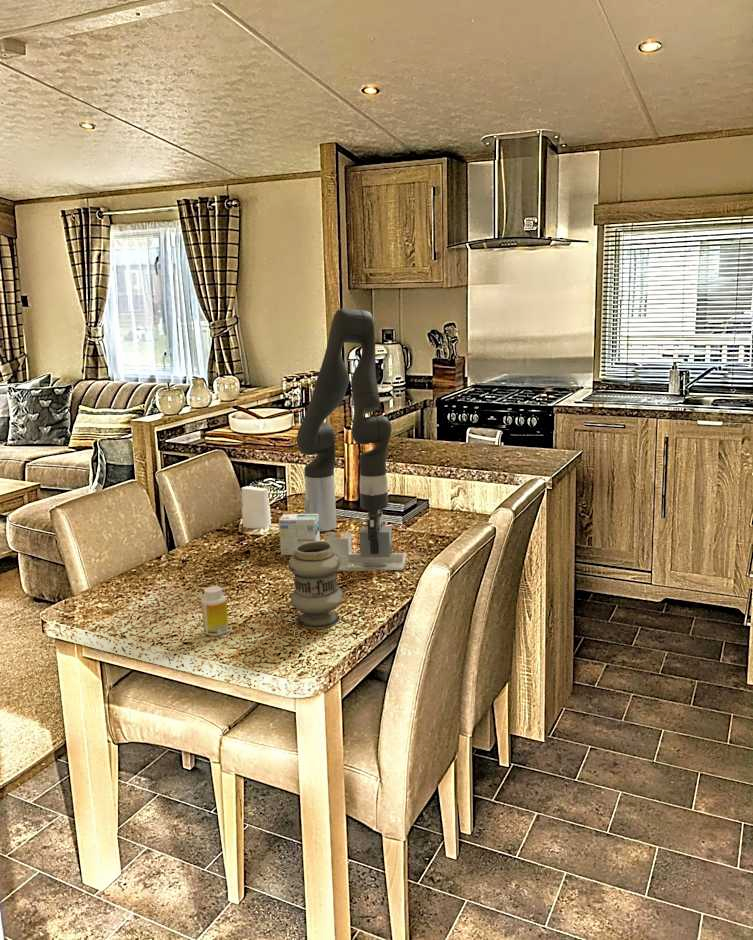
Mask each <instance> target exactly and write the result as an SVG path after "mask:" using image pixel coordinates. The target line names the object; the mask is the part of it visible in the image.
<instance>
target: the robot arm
mask: <svg viewBox="0 0 753 940" xmlns="http://www.w3.org/2000/svg"><path fill="white" fill-rule="evenodd" d="M330 324H331V325H330V329H329V334H328V339H327V343H326V348H325V352H324V357H323V359H322V363H321V366H320V369H319V371H318V374H317V378H316V381H315V384H314V387H313V390H312V391H313V392H312V395H311V398H310V402H309V404H308V408H307V410H306V412H305V414H304V416H303V419H302V421H301V423H300V426H299V428H298V431H297V435H296V445H297V449H298V451H299V453H301V454H302V455H304V456H305V455H306V456H312V455H316V456H315V458H314V459H313V460H312V461H311V462H309V463H307V464H306V465H305V466H304V468H303V471H304V473H303V475H304V488H305V489H304V490H305V500H304V501H303V503H304V514H318V517H319V532H329V531H333V530H335V529H336V528H337V511H336V510H337V509H336V489H335V485H336V484H335V466H336V436H335V431H334V428H333V426H332V425H331V424H330V423H328V422H325V420H326V419H327V418H328V417H329V416H330V415H331V414H332V413H333V412H334V411H335V410H336V409H337V408H338V407H339V405H341V403H342V402H343V400H344V399H345V395H346V392H347V391H348V386H349V384H351V386H350V387H351V392H352V393H351V395H352V401H353V410H354V411H353V418H352V419H353V421H352V425H351V426H352V427H351V437H352V439H353V441H354V442H355V443H356V444H359V445H365V444H369V445H370V444H376V445H375V447H374V448H372V449H370V450H367V451H365V452H361V454H360V456H359V501H360V503H359V504H360V508H361V509H363V510H367V511H369V512H368V513H367V515H366V524H367V526H368V540H369V541H370V552H371V554H378V553H379V542H378V541H379V532H380V531H381V527H382V526H383V524H384V523H383V517H384V516H383V515H384V514H383V510H384V509H387V508H388V507H389V493H388V492H389V491H388V489H389V487H388V477H387V460H386V459H387V454H388V453H387V452H388V447H389V443H390V440H391V435H392V423H391V421H390V420H389V418H388V417H387V416H383V415H380V416H379V415H378V416H366V417H364V415H366V414H369V413H370V414H371V413H372V412H374V411H377V410H378V409H379V408H380V406H381V400H380V398H381V397H380V394H379V393H380V392H379V387H378V382H377V373H376V372H377V371H376V329H375V327H376V326H375V320H374V317H373V315H372V313H371V312H370V311H368V310H365V309H355V308H354V309H352V308H339V309H338V310H336V311H335V312H334V316H333V317H332V321H331V323H330ZM345 343H346V344H347V343H349V344H350V343H351V344H360V346H361V356H360V359H359V361H358V363H357V365H356V367H355V369H354V371H353V374H352V377H351V383H350V375H349V373H348V372H349V371H348V369H347V367H346V364H345V362H344V360H343V356H342V349H343V346H344V344H345ZM371 533H375V536H371Z"/></svg>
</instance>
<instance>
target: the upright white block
mask: <svg viewBox="0 0 753 940" xmlns="http://www.w3.org/2000/svg"><path fill="white" fill-rule="evenodd" d="M241 498H242V499H241V501H242V502H241V503H242V506H241V514H242V515H241V516H242V517H241V518H242V526H243V527H244V528H245V529H263V528H267V527H269V526H271V524H272V520H271V519H272V518H271V506H270V503H269V500H270V499H269V489H268V488H264V487H259V486H258V487H256V486H248V485H246V486H243V487H241ZM266 526H267V527H266Z"/></svg>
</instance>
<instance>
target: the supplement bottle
mask: <svg viewBox="0 0 753 940" xmlns="http://www.w3.org/2000/svg"><path fill="white" fill-rule="evenodd" d="M203 595H204V596H203V597H202V598H201V601H200V602H201V612H202V613H201V615H202V625H203V632H204V634H205V635H206V636H210V637H217V636H218V637H219V636H223V635H224V634H226V633H228V632H229V629H230V627H229V615H228V613H229V612H228V603H227V596H226V595H225V594H223V588H222V587H221V586H218V585H213V586H207V587H205V588H204V590H203Z"/></svg>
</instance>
